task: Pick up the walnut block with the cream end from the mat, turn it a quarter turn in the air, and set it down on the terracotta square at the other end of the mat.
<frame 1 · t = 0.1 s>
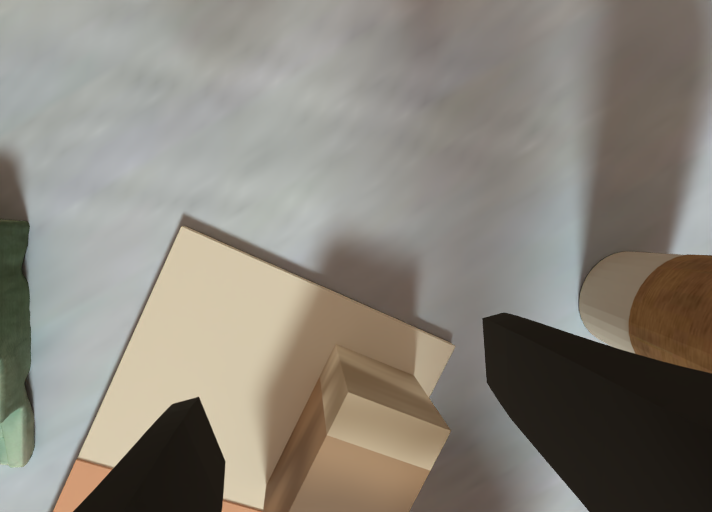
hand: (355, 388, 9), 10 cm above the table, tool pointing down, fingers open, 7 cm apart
mat: (238, 479, 20), on the table
coffee cup: (616, 296, 22), on the table
two tone block: (340, 430, 20), resting on mat
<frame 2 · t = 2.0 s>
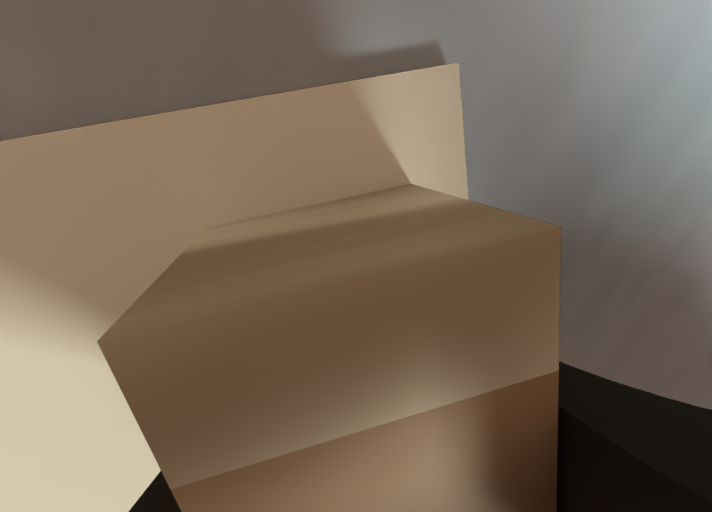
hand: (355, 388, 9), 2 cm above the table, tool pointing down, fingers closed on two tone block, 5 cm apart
mat: (254, 511, 11), on the table
two tone block: (347, 360, 10), resting on mat, touching gripper
when the fingers open (3 cm above the table, at t = 5.9 s): two tone block stays where it is, resting on mat.
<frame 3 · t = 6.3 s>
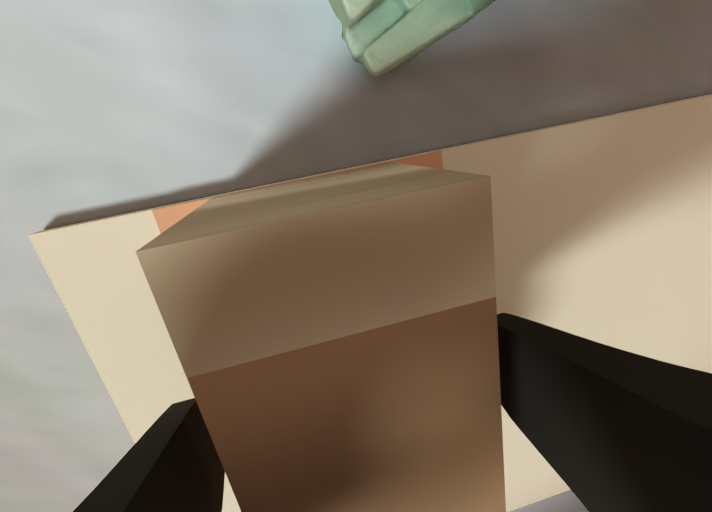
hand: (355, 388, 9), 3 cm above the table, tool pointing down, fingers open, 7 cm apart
mat: (479, 360, 13), on the table
two tone block: (336, 322, 11), point 1 cm above the table, touching mat
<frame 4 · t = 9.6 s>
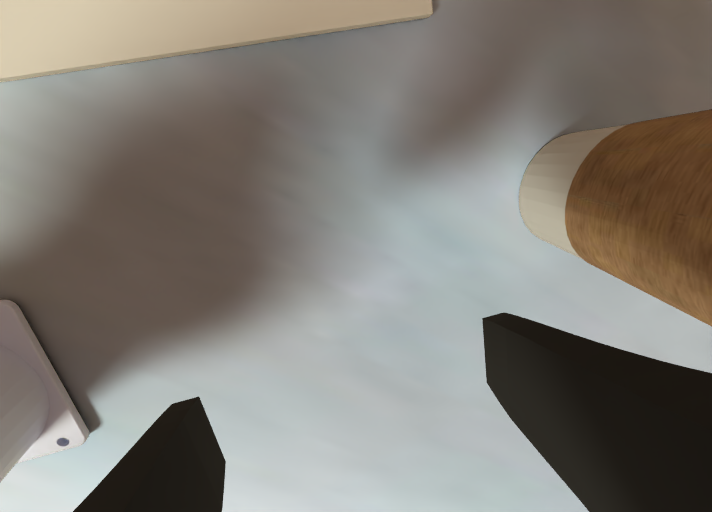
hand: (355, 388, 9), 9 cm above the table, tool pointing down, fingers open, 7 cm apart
coffee cup: (563, 189, 19), on the table
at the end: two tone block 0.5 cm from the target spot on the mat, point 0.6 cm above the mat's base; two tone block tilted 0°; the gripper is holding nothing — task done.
